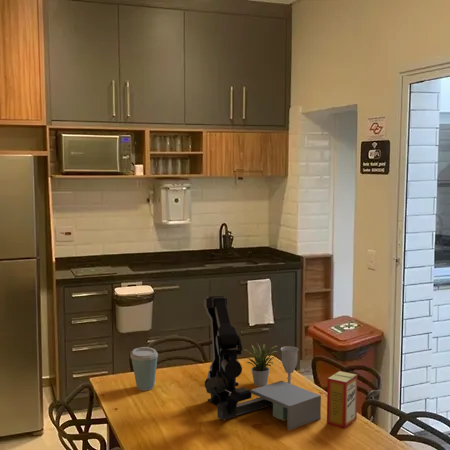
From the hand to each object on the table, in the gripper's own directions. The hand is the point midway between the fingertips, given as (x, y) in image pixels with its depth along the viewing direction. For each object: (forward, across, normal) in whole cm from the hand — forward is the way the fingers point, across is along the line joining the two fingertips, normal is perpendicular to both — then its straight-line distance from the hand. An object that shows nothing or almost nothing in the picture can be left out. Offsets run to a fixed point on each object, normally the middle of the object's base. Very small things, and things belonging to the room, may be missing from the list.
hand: (227, 412), depth 211 cm
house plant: (+2, -17, +32) cm, 37 cm away
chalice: (+2, -2, +32) cm, 32 cm away
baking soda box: (+2, +26, +28) cm, 39 cm away
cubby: (+2, +11, +17) cm, 20 cm away
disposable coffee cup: (+2, -43, -6) cm, 43 cm away
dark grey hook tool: (+2, +3, +9) cm, 10 cm away
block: (+2, +11, +16) cm, 19 cm away
